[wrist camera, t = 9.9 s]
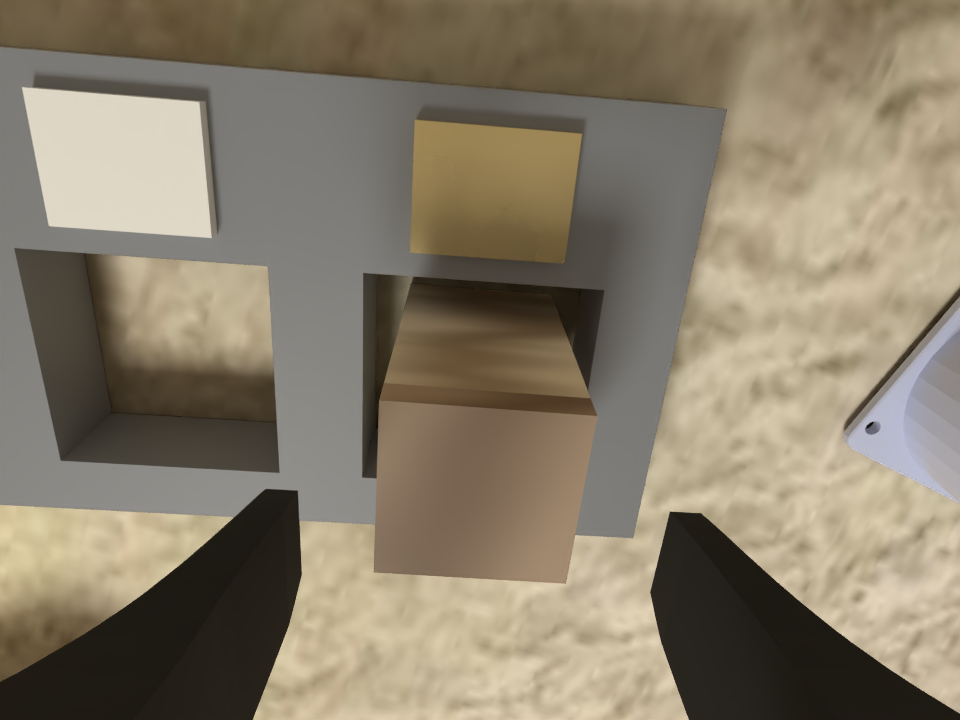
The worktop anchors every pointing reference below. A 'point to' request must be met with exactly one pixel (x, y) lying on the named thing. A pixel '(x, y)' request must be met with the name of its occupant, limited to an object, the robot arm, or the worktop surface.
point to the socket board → (324, 260)
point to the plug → (481, 439)
